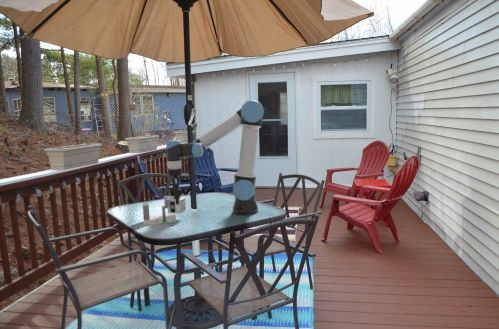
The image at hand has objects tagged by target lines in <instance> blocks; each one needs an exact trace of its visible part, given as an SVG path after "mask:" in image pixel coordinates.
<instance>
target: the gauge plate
mask: <svg viewBox="0 0 499 329" xmlns="http://www.w3.org/2000/svg"><path fill="white" fill-rule="evenodd" d="M163 200H164V202H163V203H164V204H163V205H162V206H161V212H162V214H161V215H163V217H164V222H165V217H166V216H165V214H166V209H168V196H167V195H164V196H163Z"/></svg>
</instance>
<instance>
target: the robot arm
mask: <svg viewBox="0 0 499 329" xmlns="http://www.w3.org/2000/svg"><path fill="white" fill-rule="evenodd" d="M264 112H265V111H264V106H263V105H262V103H261V102H260V101H258V100H255V99H250V100H246V101H245V102H244V103H243V104H242V106H241V108H240V109H239V110H236V111H235V114H234V115H232V116H231V117H229V118H227V119H226V120H225V121H223V122H221V123H220V124H219V125H217V126H215V127H213V129H210V130H209V131H208V132H206V133H204V134H203V135H201V136H200V137H199V138H197V139H195V140H194V141H192V142H190V143H189V142H187V143H181V141H180V140H179V139H173V140H167V141H166V145H165V146H166V148H165V151H166V160H167V162H166V163H165V165H167V175H168V177H171V179H170V180H171V185H172V189H174V195H175V197H173V199H174V200H175V210H180V195H179V189H180V179H179V176H182V173H183V171H182V158H198V157H200V158H201V157H202V156H203V155H204V154H203V153H204V151H206V150H207V149H208V148H210V147H212V146H213V145H215V144H216V143H218V142H219V141H221V140H223V139H224V138H226V137H227V136H229V135H230V134H232V133H234V132H235V131H236V130H238V129H239V128H241V127H242V131H241V138H240V139H241V140H240V141H241V142H240V150H239V160H238V169H237V171H236V173H234V178H233V179H234V181H233V187H232V192H233V195H234V203H233V206H232V213H233V214H236V215H242V216H243V215H244V216H245V215H253V214H257V213H258V212H259V207H258V206H259V205H258V203H257V201H256V194H255V192H256V179H257V175H256V173H254V172H255V165H256V164H255V163H256V155H257V144H258V137H259V136H258V135H259V130H260V129H261V128H262V125H263V117H264ZM177 195H178V196H177Z"/></svg>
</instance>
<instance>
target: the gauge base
mask: <svg viewBox="0 0 499 329" xmlns="http://www.w3.org/2000/svg"><path fill="white" fill-rule="evenodd" d="M142 215H143V225H144V226H146V225H147V226H149V225H157V224H158V225H159V224H169V223H177V216H176V214H173V213H167V214H166V213H165V216H166V217H165V222H164V217H163V215H162V214H155V215H150V203H149V201H145V202H142Z"/></svg>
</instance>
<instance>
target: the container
mask: <svg viewBox="0 0 499 329" xmlns="http://www.w3.org/2000/svg"><path fill="white" fill-rule="evenodd" d="M169 195H170V196H169V198H167V200H168V208H167V214H175V215H176V214H177V215H178V214H183V213H184V212H185V211H187V204H186V197H185V196H183V189H181V188H179V195H180V210H175V200H174V199H173V197H175V195H174V189H173V188H172V189H170V190H169ZM177 196H178V195H177Z"/></svg>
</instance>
